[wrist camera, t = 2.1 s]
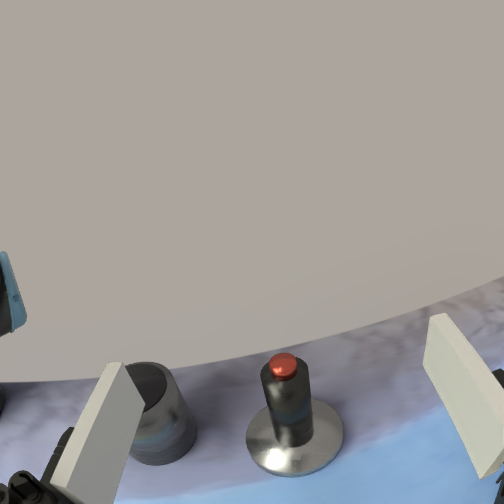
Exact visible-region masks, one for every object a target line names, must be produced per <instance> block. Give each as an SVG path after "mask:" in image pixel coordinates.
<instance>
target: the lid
mask: <svg viewBox="0 0 504 504" xmlns="http://www.w3.org/2000/svg"><path fill="white" fill-rule="evenodd" d="M260 376H261V381H262V385H263V389H264V393H265V397H266V402H267V407H265V408H264V409H262V410H261V411H260V412H259V413H258V414H257V415H256V416H255V417H254V418H253V419H252V421H251V422H250V424H249V426H248V429H247V433H246V444H247V448H248V450H249V453H250V455H251V457H252V459H253V460H254V462H255V463H256V464H257V465H258V466H259V467H260V468H262V469H263V470H265V471H266V472H268V473H271V474H273V475H277V476H281V477H301V476H306V475H309V474H312V473H315V472H317V471H319V470H321V469H323V468H324V467H326V466H327V465H328V464H329V463H330V462H331V461H333V460H334V458H335V457H336V456H337V454H338V453H339V451H340V449H341V446H342V442H343V424H342V420H341V418H340V416H339V415H338V413H337V412H336V411H335V410H334V409H333V408H332V407H331V406H329V405H328V404H326V403H324V402H322V401H319V400H316V399H312V398H311V392H310V381H309V371H308V366H307V364H306V363H305V362H304V361H303V360H301V359H300V358H297V357H295V356H294V355H292V354H289V353H280V354H277V355H275V356H273V357H272V358H271V359H270V361H269V362H268V363H267V364H266V365H265V366H264V367H263V368H262V370H261V374H260Z"/></svg>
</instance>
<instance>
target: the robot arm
mask: <svg viewBox="0 0 504 504" xmlns="http://www.w3.org/2000/svg"><path fill="white" fill-rule="evenodd" d="M26 319H27V314H26V310H25V307H24V304H23V301H22V298H21V295H20V292H19V289H18V286H17V282H16V279H15V276H14V273H13V270H12V267H11V264H10V261H9V258H8V255H7V253H6V252H4V251H2V252H0V337H1V336H3V335H5V334H7V333H9V332H10V333H12V332H13V331H14V330H15V329H17V328H18V327H20V326H22V325H24V324H25V322H26ZM422 365H423V367H424V369H425V370H426V372H427V374H428V376H429V378H430V379H431V381H432V383H433V385H434V387H435V389H436V390H437V392H438V394H439V396H440V398H441V400H442V402H443V404H444V406H445V407H446V409H447V411H448V413H449V415H450V417H451V419H452V421H453V423H454V425H455V427H456V429H457V431H458V433H459V435H460V437H461V439H462V441H463V444H464V446H465V448H466V450H467V452H468V454H469V456H470V459H471V461H472V463H473V465H474V467H475V470H476V472H477V474H478V476H479V479H480V480H481V479H483V478H485V477H487V476H489V475H491V474H493V473H495V472H497V471H498V469H499V468H500V467H501V465H502V464H503V463H504V371H503V370H502V369H498V370H495V371H493V372H491V371H490V370H489V368H488V367H487V365H486V364H485V363H484V361H483V360H482V359H481V357H480V356H479V355H478V353H477V352H476V351H475V349H474V348H473V347H472V346H471V344H470V343H469V342H468V340H467V339H466V338H465V337H464V335H463V334H462V333H461V331H460V330H459V329H458V328H457V326H456V325H455V324H454V323H453V322H452V320H451V319H450V318H449V317H448V315H447V314H446V313H442V314H438V315H434V316H430V320H429V328H428V335H427V341H426V347H425V353H424V359H423V364H422ZM4 400H5V395H4V391H3V389H2V388H1V387H0V412H1V410H2V408H3V405H4ZM144 406H145V402H144V401H143V399H142V397H141V395H140V394H139V392H138V390H137V388H136V387H135V385H134V383H133V381H132V379H131V377H130V376H129V374H128V372H127V370H126V368H125V366H124V364H123V362H110V363H108V364H107V366H106V368H105V370H104V371H103V373H102V375H101V377H100V379H99V381H98V383H97V385H96V387H95V388H94V390H93V392H92V394H91V396H90V398H89V400H88V402H87V404H86V406H85V408H84V410H83V412H82V414H81V416H80V418H79V420H78V422H77V424H76V426H75V428H74V427H69V428H68V429H67V430H66V431H65V432H64V433H63V435H62V436H61V438H60V440H59V442H58V444H57V447H56V448H55V450H54V452H53V453H54V454H52V456H51V459H50V461H49V463H48V465H47V467H46V469H45V471H44V474H43V476H42V478H41V480H40V482H39V481H38V480H37V479H36V478H35V477H34V476H33V475H32V474H31V473H29V472H28V471H24V470H22V471H18V472H16V473H15V474H13V476H12V477H11V478H10V480H9V483H8V487H7V486H5V485H4V484H2V483H0V504H113V502H114V499H115V496H116V492H117V489H118V486H119V482H120V479H121V476H122V473H123V470H124V466H125V463H126V460H127V457H128V454H129V451H130V448H131V445H132V442H133V439H134V436H135V433H136V430H137V427H138V424H139V421H140V418H141V415H142V412H143V409H144ZM501 480H502V481H501ZM500 481H501V484H500V487H499V490H498V493H497V496H496V499H495V502H494V504H504V472H503V473H502V474H501V475H500V477H499V478H498V479H497V481H496V483H497V484H498V483H499V482H500Z"/></svg>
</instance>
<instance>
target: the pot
mask: <svg viewBox="0 0 504 504" xmlns="http://www.w3.org/2000/svg"><path fill="white" fill-rule="evenodd" d="M125 368H126V370H127V372H128V374H129V376H130V377H131V379H132V381H133V383H134V385H135V387H136V388H137V390H138V392H139V394H140V395H141V397H142V399H143V401H144V402H145V406H144V409H143V412H142V415H141V418H140V421H139V424H138V427H137V430H136V433H135V436H134V439H133V442H132V445H131V448H130V451H129V453H130V455H131V456H132V457H133V458H134V459H136V460H137V461H139V462H141V463H143V464H147V465H164V464H168V463H171V462H174V461H176V460H178V459H179V458H181V457H182V456H184V455H185V454H186V453H187V452H188V451H189V450H190V449H191V447H192V446H193V444H194V442H195V439H196V436H197V427H196V424H195V421H194V419H193V417H192V415H191V413H190V411H189V409H188V407H187V405H186V403H185V401H184V399H183V397H182V395H181V393H180V391H179V389H178V386H177V384H176V382H175V380H174V378H173V376H172V374H171V372H170V371H169V370H168V369H167V368H166V367H165V366H163V365H161V364H158V363H154V362H138V363H133V364H129V365H127V366H125Z"/></svg>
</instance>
